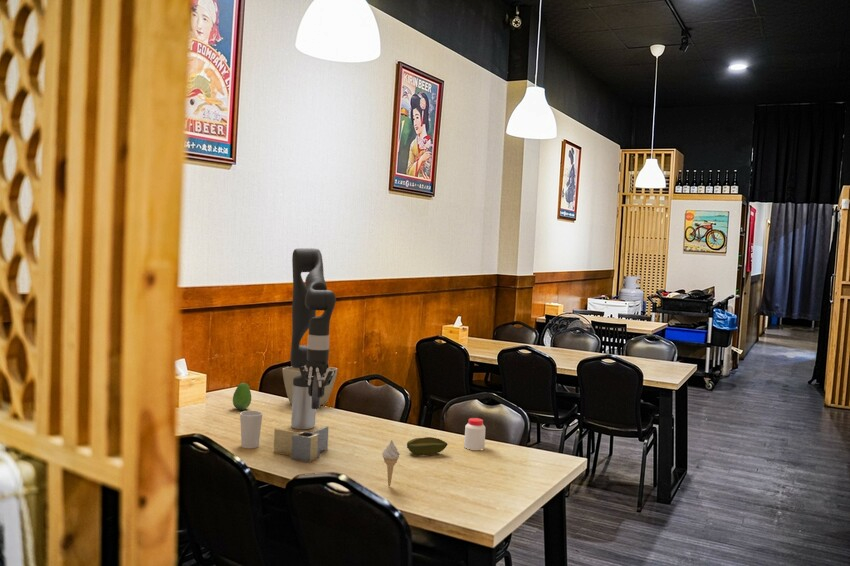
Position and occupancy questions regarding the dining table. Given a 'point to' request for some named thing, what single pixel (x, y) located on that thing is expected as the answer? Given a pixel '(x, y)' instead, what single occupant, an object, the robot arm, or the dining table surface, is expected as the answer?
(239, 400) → the fruit
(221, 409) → the dining table surface
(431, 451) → the fruit
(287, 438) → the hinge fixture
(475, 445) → the pill bottle
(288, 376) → the flower pot
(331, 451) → the dining table surface
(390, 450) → the ice cream cone
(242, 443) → the cup
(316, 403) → the hinge pin
